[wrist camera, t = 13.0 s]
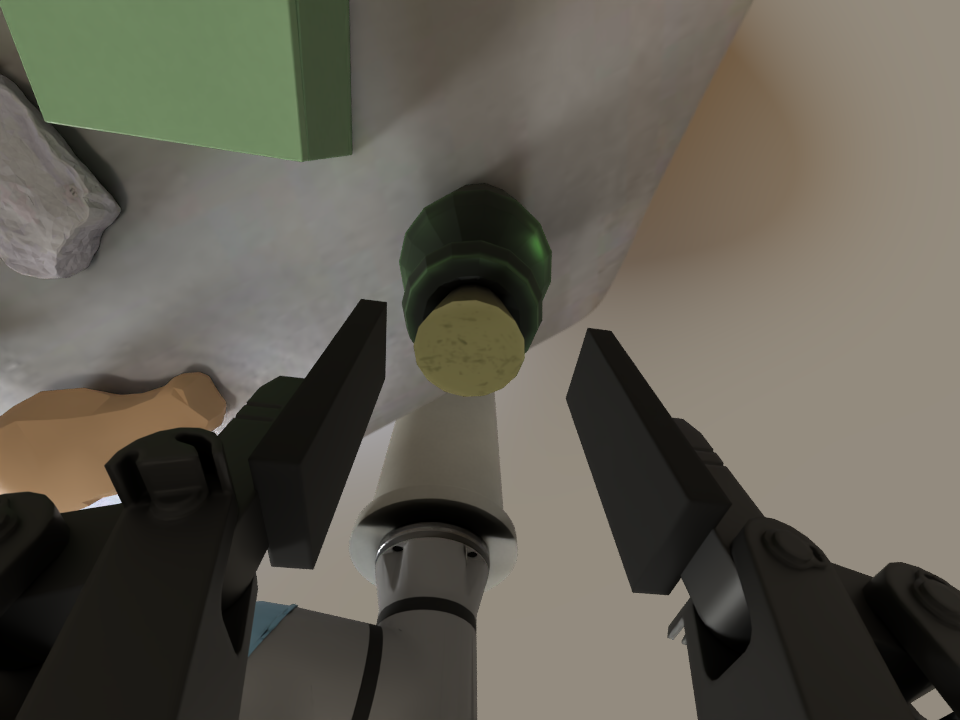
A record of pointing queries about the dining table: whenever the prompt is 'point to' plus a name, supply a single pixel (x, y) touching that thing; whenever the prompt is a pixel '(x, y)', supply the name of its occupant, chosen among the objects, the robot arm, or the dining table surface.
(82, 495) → the squash
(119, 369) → the dining table surface
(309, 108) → the chest
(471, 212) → the potion bottle
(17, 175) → the stone block
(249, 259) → the dining table surface
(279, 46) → the chest lid
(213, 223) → the dining table surface
